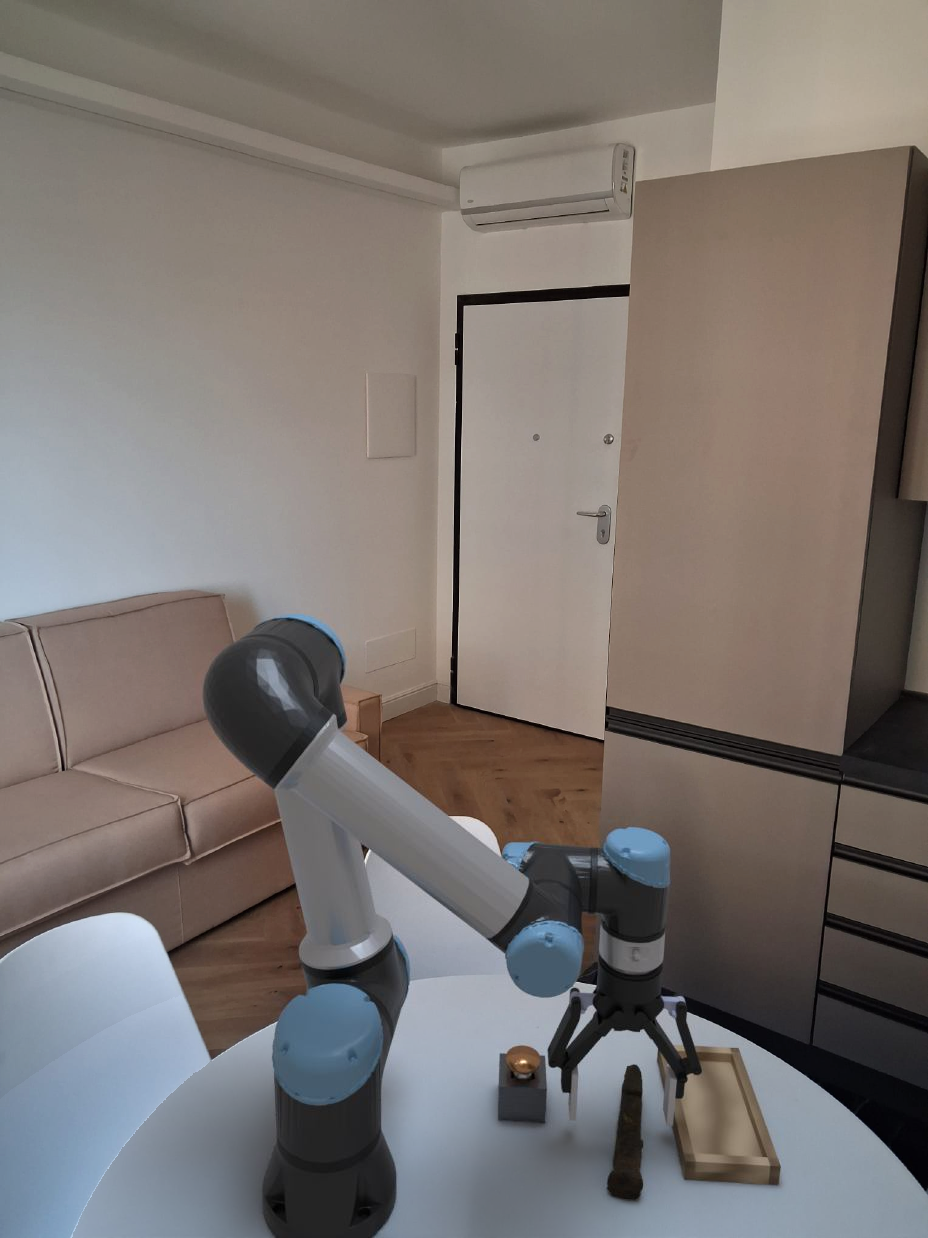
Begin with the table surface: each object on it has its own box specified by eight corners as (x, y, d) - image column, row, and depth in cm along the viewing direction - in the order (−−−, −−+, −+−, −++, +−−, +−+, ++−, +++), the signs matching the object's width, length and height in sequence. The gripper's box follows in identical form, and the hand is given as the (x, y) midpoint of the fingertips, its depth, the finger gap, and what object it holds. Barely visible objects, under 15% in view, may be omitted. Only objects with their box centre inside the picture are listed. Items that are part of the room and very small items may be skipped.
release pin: (504, 1114, 115) (505, 1068, 114) (504, 1089, 119) (506, 1044, 118) (538, 1116, 115) (541, 1070, 113) (537, 1091, 119) (539, 1046, 118)
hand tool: (641, 1207, 103) (644, 1173, 102) (605, 1198, 104) (608, 1165, 103) (653, 1090, 120) (656, 1060, 119) (623, 1084, 121) (625, 1054, 120)
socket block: (497, 1120, 114) (499, 1086, 113) (498, 1085, 120) (499, 1053, 119) (545, 1123, 114) (546, 1089, 113) (543, 1088, 120) (545, 1055, 119)
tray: (683, 1179, 106) (685, 1161, 106) (657, 1060, 126) (658, 1044, 125) (778, 1185, 106) (780, 1166, 105) (736, 1064, 125) (738, 1048, 124)
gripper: (531, 972, 103) (525, 1133, 108) (739, 982, 102) (722, 1144, 107) (530, 935, 111) (524, 1087, 116) (723, 944, 110) (709, 1097, 115)
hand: (619, 1115), depth 112 cm, fingers open, 11 cm apart
